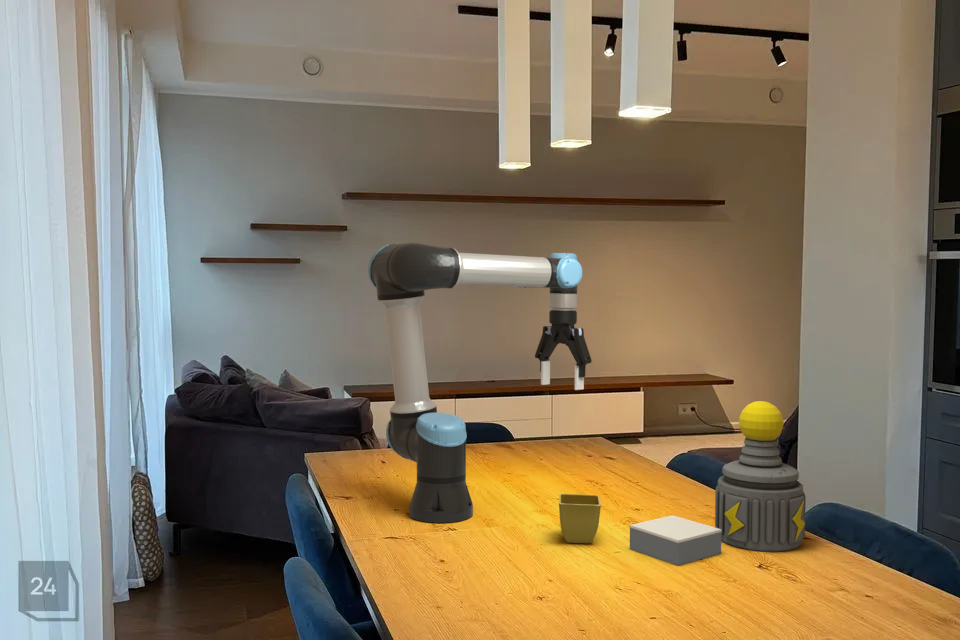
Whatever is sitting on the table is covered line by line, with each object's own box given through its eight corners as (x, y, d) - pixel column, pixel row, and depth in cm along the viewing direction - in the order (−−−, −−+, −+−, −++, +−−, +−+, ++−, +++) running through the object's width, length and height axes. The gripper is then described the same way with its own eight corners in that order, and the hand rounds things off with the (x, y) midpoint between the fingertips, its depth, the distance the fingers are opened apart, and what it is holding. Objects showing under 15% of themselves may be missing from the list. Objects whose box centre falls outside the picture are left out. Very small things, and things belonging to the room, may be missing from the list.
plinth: (678, 565, 168) (678, 540, 168) (629, 548, 179) (629, 525, 179) (721, 553, 176) (721, 529, 176) (672, 538, 186) (672, 515, 186)
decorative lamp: (695, 537, 187) (697, 400, 185) (745, 522, 199) (747, 393, 198) (774, 559, 172) (777, 410, 171) (822, 541, 184) (825, 402, 183)
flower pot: (599, 535, 189) (599, 494, 188) (600, 547, 180) (601, 504, 180) (558, 533, 189) (559, 493, 189) (558, 546, 181) (558, 503, 180)
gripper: (605, 310, 228) (604, 390, 229) (543, 308, 248) (542, 381, 249) (585, 311, 224) (583, 392, 224) (523, 308, 243) (522, 383, 244)
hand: (561, 387), depth 237 cm, fingers open, 13 cm apart
